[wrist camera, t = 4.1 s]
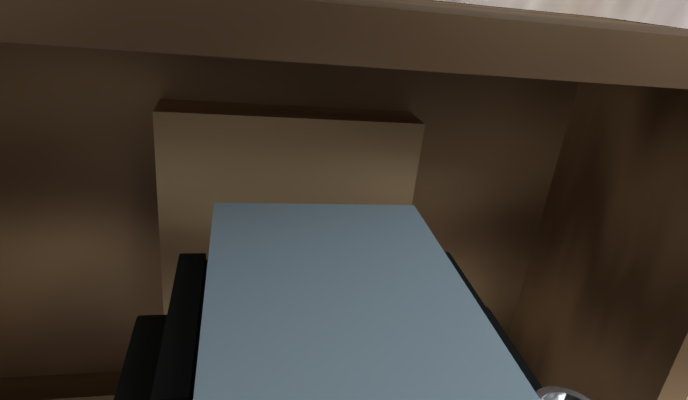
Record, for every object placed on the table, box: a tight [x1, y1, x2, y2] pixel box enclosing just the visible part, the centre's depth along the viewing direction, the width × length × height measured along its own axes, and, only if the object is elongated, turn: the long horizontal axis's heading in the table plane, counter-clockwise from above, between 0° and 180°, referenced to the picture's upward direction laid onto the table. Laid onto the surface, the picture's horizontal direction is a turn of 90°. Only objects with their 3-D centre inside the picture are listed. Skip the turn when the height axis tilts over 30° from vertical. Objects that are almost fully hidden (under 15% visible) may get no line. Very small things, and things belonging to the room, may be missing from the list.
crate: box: [0, 0, 688, 400], centre depth 15 cm, size 15×22×8 cm
